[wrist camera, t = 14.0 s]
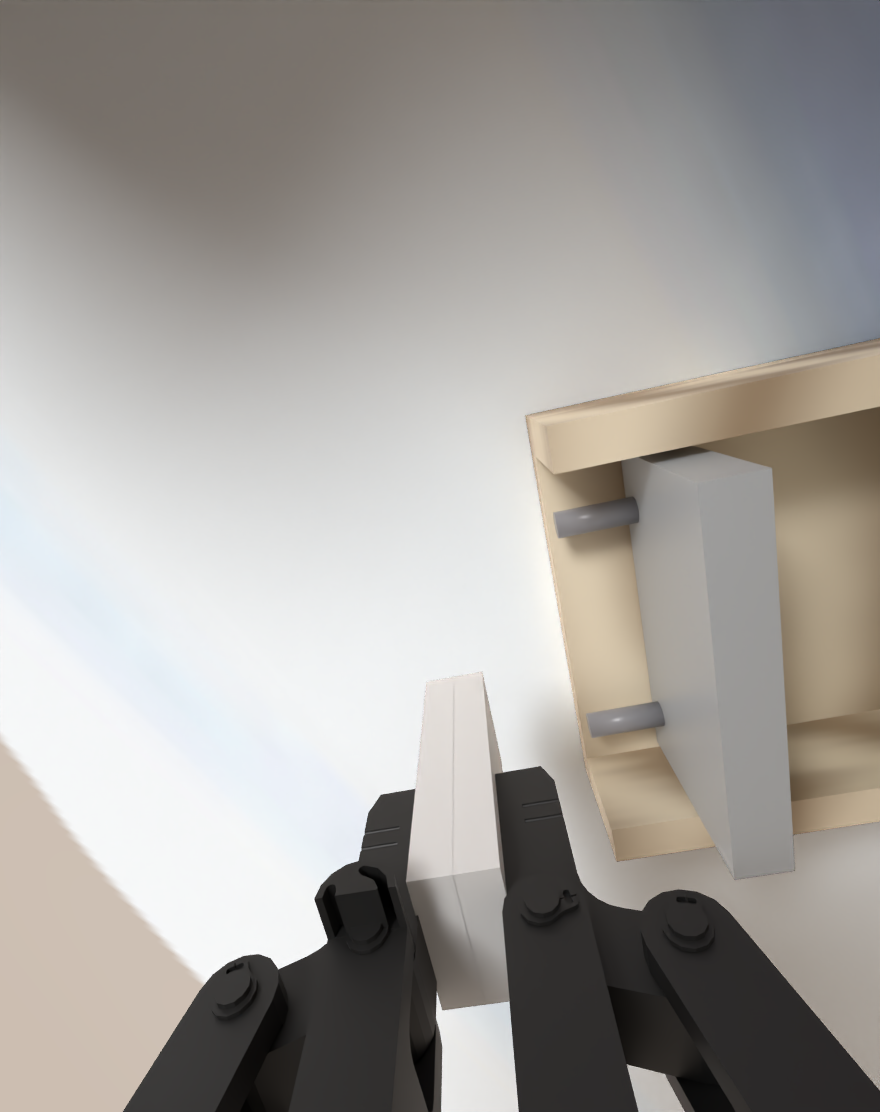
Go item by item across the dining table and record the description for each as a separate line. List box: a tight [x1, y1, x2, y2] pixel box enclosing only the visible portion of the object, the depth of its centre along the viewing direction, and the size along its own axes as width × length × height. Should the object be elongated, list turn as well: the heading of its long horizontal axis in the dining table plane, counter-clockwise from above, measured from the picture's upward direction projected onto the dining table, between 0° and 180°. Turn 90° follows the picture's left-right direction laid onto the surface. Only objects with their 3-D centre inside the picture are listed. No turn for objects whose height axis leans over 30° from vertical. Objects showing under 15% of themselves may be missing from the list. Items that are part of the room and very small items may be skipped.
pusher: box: [553, 446, 795, 880], centre depth 17 cm, size 4×10×6 cm, turn 12°
